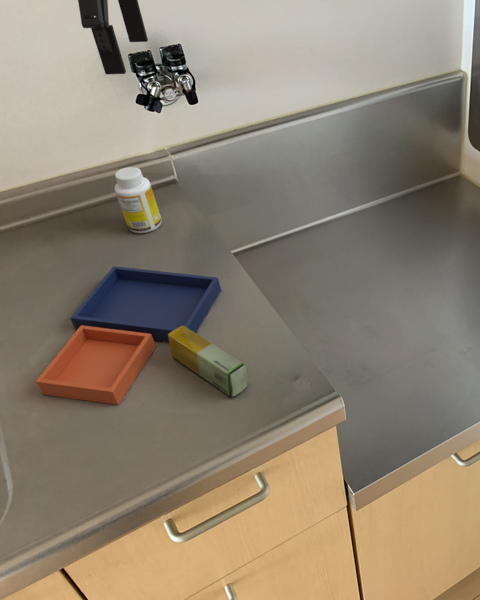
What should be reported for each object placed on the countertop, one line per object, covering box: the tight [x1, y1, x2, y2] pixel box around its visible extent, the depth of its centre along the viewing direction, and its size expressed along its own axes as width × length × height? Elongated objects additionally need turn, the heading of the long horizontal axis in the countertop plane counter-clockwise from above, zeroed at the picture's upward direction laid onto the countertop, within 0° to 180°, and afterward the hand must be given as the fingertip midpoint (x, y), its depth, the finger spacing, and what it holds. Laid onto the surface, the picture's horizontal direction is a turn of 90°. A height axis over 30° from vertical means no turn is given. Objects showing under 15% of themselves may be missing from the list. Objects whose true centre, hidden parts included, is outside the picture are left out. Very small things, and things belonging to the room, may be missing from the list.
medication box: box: [168, 326, 248, 398], centre depth 78 cm, size 12×3×4 cm, turn 54°
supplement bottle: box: [114, 166, 163, 234], centre depth 102 cm, size 6×6×10 cm
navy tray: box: [70, 265, 222, 343], centre depth 88 cm, size 17×12×2 cm
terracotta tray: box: [35, 325, 157, 406], centre depth 79 cm, size 10×10×2 cm
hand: (128, 56), depth 93 cm, fingers open, 13 cm apart
